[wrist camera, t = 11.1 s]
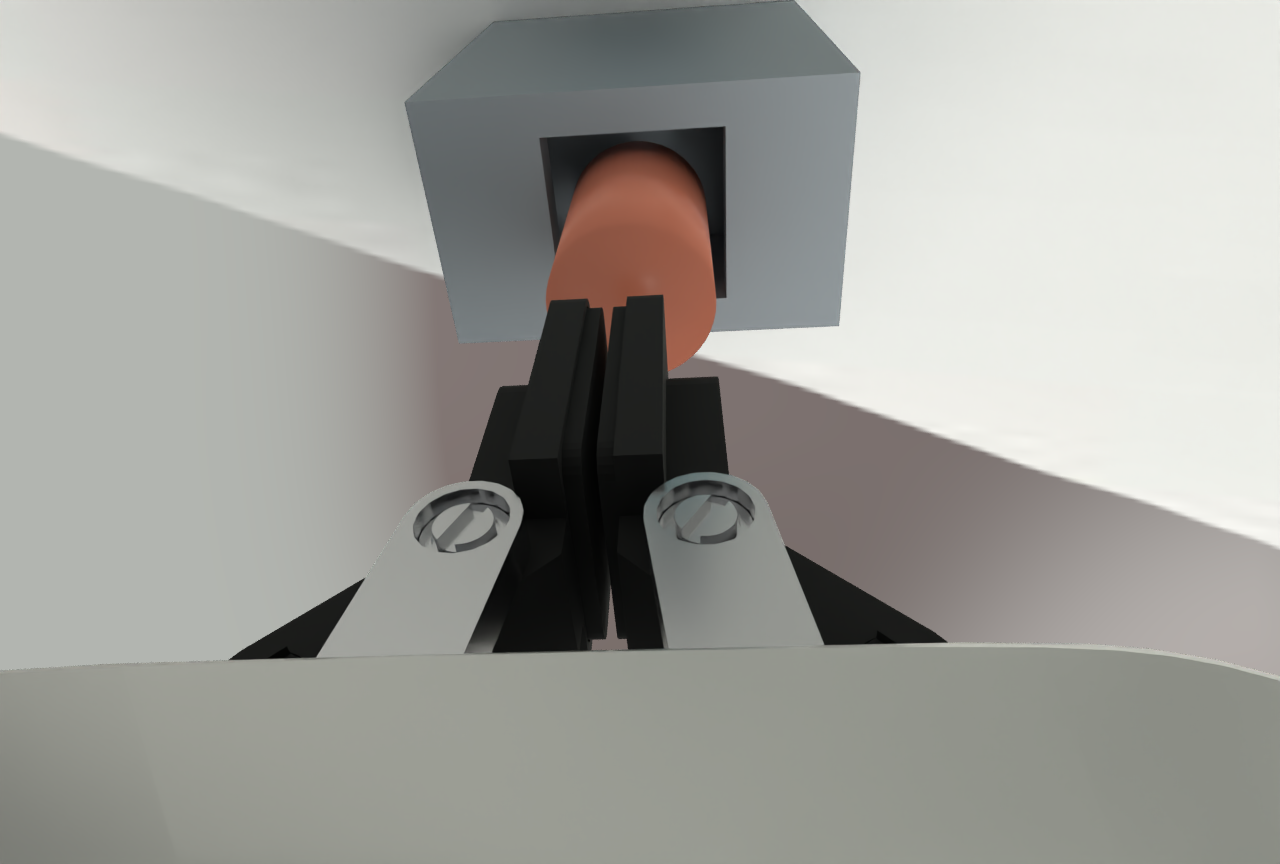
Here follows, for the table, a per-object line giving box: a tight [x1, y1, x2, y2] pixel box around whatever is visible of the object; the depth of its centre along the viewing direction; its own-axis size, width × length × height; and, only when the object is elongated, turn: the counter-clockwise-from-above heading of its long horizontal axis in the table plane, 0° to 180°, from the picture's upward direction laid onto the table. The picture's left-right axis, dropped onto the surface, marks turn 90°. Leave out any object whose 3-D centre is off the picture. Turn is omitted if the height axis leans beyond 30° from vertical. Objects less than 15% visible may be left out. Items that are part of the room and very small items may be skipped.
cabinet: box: [405, 0, 860, 343], centre depth 21 cm, size 6×9×10 cm, turn 94°
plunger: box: [546, 141, 716, 371], centre depth 16 cm, size 3×3×5 cm
